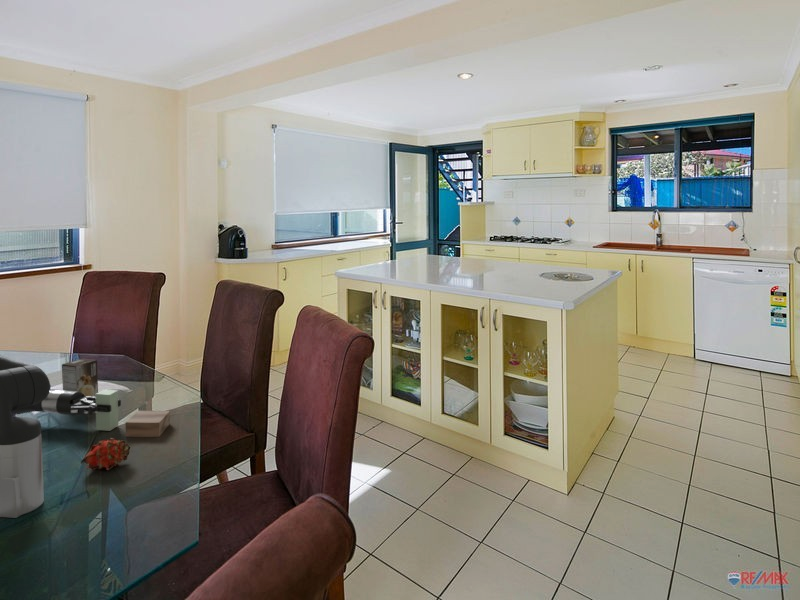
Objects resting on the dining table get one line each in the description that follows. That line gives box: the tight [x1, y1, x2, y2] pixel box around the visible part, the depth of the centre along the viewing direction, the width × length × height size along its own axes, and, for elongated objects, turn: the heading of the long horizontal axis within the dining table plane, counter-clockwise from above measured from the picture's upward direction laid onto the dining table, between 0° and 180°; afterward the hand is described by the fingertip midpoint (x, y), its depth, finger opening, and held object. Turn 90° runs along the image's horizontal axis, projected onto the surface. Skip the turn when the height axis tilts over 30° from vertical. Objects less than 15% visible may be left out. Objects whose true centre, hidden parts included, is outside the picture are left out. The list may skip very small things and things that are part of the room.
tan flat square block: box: [125, 410, 171, 438], centre depth 156 cm, size 10×10×5 cm
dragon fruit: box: [80, 437, 131, 471], centre depth 131 cm, size 8×8×12 cm
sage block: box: [95, 388, 119, 432], centre depth 154 cm, size 4×4×12 cm
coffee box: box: [61, 357, 99, 397], centre depth 172 cm, size 9×6×16 cm
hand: (115, 405), depth 154 cm, fingers closed on sage block, 4 cm apart
